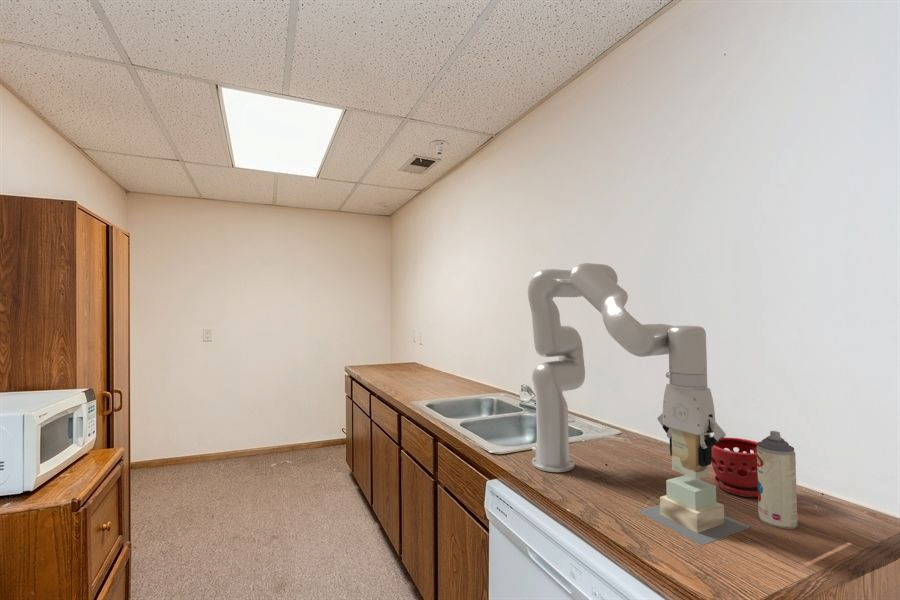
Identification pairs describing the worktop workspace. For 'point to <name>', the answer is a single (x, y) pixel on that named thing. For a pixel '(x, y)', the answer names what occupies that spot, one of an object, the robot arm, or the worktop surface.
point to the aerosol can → (777, 482)
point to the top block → (691, 492)
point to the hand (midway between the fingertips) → (690, 459)
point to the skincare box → (687, 455)
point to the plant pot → (736, 466)
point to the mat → (701, 537)
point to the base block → (692, 515)
